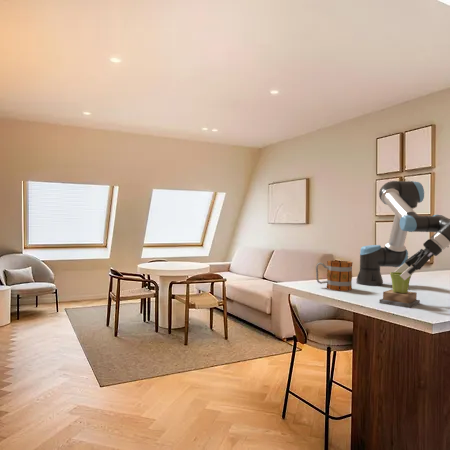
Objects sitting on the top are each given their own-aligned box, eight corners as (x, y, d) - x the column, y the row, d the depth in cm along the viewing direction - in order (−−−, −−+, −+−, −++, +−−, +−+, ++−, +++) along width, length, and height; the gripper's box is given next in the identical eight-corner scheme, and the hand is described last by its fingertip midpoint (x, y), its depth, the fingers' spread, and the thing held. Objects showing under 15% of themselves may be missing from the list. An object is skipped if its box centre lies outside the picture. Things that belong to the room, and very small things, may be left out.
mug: (351, 287, 218) (351, 261, 218) (352, 291, 205) (353, 263, 205) (315, 285, 223) (316, 259, 223) (314, 289, 210) (315, 261, 210)
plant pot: (385, 290, 181) (385, 271, 181) (404, 290, 182) (404, 272, 182) (395, 294, 172) (396, 274, 172) (415, 294, 173) (416, 274, 173)
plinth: (379, 302, 177) (379, 292, 177) (390, 299, 187) (391, 288, 187) (409, 307, 168) (409, 296, 168) (419, 303, 178) (419, 292, 178)
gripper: (451, 252, 161) (411, 286, 164) (434, 248, 185) (399, 278, 188) (438, 239, 162) (398, 273, 165) (422, 237, 186) (388, 266, 190)
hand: (399, 276), depth 177 cm, fingers open, 13 cm apart
